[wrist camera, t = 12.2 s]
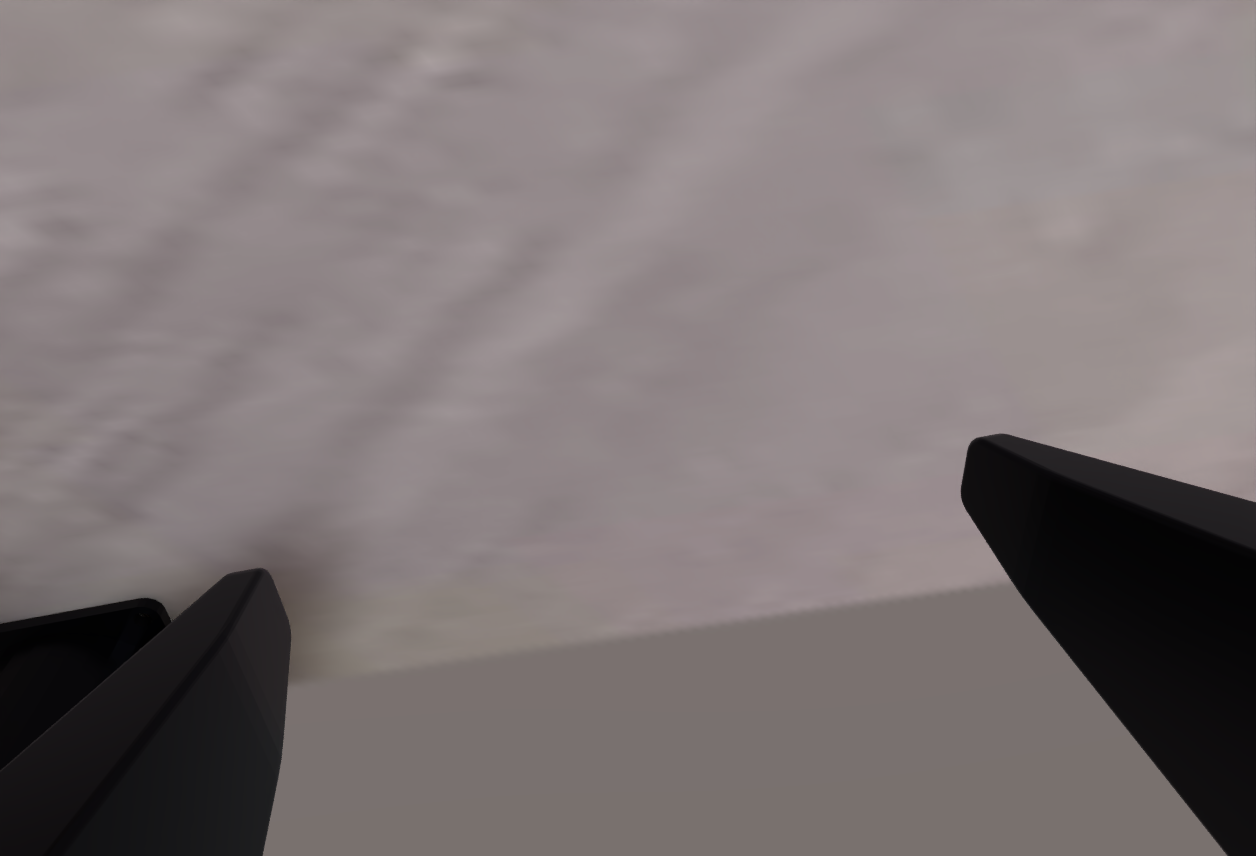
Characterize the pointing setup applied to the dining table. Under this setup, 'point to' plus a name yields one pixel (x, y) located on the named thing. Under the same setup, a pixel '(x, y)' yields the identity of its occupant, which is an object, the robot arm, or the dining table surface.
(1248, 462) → the dining table surface
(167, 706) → the robot arm
